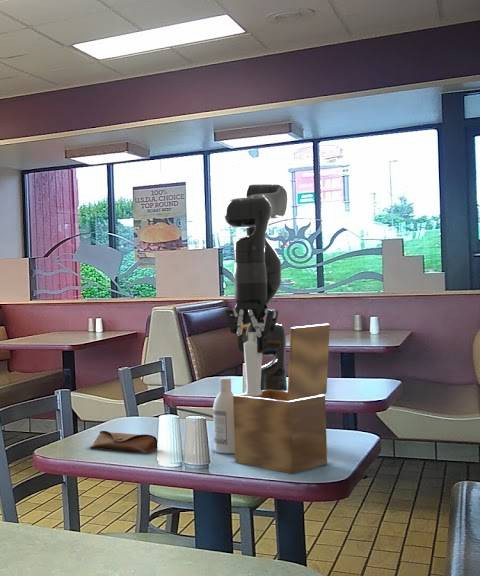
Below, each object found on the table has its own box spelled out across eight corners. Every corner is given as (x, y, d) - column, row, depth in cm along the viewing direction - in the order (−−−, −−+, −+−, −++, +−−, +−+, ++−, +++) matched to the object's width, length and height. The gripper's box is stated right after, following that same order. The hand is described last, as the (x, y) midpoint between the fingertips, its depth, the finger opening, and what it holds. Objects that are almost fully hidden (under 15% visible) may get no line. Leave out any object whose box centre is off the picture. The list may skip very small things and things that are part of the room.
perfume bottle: (265, 396, 195) (263, 333, 195) (245, 396, 196) (244, 333, 196) (262, 392, 200) (261, 331, 199) (243, 392, 201) (242, 331, 200)
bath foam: (236, 448, 228) (234, 376, 228) (244, 453, 221) (241, 379, 221) (211, 449, 228) (209, 377, 228) (218, 454, 221) (215, 380, 221)
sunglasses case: (87, 447, 234) (91, 425, 237) (96, 455, 239) (101, 433, 242) (147, 452, 224) (151, 429, 227) (155, 461, 229) (159, 438, 232)
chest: (235, 462, 212) (233, 395, 211) (271, 453, 220) (269, 389, 220) (291, 473, 198) (288, 401, 198) (327, 464, 206) (325, 395, 206)
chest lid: (290, 327, 196) (293, 328, 196) (326, 323, 205) (329, 324, 204) (287, 399, 198) (290, 400, 197) (323, 393, 206) (326, 393, 205)
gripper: (285, 280, 193) (287, 352, 194) (236, 280, 205) (238, 349, 206) (265, 281, 189) (267, 355, 190) (216, 282, 201) (218, 351, 202)
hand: (252, 351), depth 198 cm, fingers closed on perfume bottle, 4 cm apart
